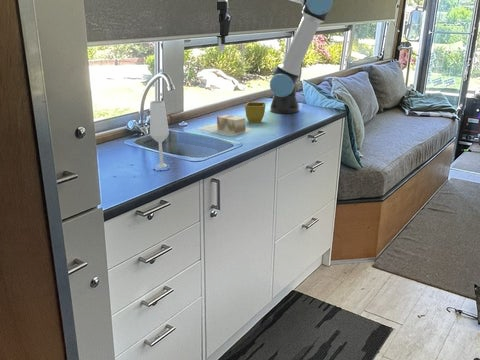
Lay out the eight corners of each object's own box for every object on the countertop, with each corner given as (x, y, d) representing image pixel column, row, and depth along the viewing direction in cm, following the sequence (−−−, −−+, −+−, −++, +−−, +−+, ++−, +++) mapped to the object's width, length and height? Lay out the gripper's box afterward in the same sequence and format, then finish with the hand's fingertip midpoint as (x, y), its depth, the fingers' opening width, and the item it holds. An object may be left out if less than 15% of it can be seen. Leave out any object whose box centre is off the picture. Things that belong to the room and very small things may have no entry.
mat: (196, 129, 233) (196, 128, 233) (220, 123, 244) (220, 122, 244) (230, 137, 219) (230, 136, 218) (254, 130, 230) (254, 129, 229)
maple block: (217, 116, 228) (236, 120, 220) (226, 114, 232) (245, 118, 225) (217, 129, 230) (236, 133, 223) (226, 126, 234) (245, 131, 227)
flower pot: (262, 124, 240) (262, 106, 237) (244, 124, 242) (244, 105, 239) (265, 120, 248) (265, 102, 245) (248, 120, 250) (248, 102, 247)
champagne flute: (148, 168, 180) (143, 102, 172) (162, 164, 185) (158, 99, 177) (161, 172, 176) (156, 104, 168) (175, 167, 181) (171, 101, 173)
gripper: (205, 1, 245) (207, 50, 253) (224, 0, 236) (225, 52, 244) (216, 0, 250) (217, 49, 258) (235, 0, 241) (236, 51, 249)
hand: (221, 50), depth 251 cm, fingers closed
